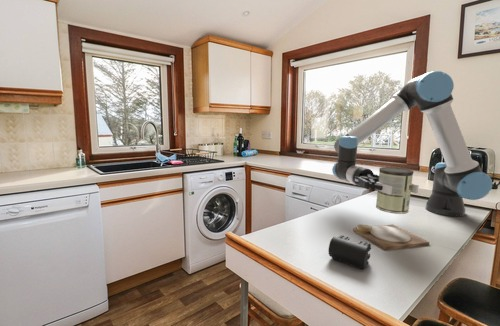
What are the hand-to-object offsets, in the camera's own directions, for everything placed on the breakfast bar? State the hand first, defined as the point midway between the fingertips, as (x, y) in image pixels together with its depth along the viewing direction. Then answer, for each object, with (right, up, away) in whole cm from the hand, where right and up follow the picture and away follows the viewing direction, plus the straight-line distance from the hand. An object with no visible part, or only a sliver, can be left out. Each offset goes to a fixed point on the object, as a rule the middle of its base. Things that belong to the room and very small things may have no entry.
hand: (404, 189), depth 90 cm
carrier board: (-2, -18, +7) cm, 19 cm away
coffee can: (-1, -7, +5) cm, 9 cm away
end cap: (-22, -20, -11) cm, 32 cm away
